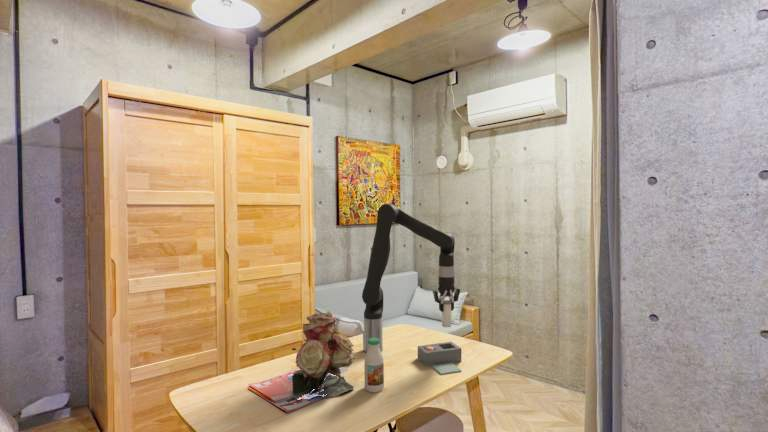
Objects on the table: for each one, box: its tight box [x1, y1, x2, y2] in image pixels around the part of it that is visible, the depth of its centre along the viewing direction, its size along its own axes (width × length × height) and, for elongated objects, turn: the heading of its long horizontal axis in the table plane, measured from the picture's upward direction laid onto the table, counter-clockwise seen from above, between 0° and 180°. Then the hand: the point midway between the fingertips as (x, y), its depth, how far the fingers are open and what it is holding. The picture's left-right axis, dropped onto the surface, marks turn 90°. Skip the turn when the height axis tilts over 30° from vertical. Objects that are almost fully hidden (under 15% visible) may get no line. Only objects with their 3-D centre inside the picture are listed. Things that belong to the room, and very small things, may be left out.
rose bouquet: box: [291, 310, 356, 399], centre depth 163 cm, size 26×29×30 cm
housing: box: [417, 341, 462, 367], centre depth 190 cm, size 18×10×6 cm, turn 109°
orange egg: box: [425, 346, 434, 351], centre depth 188 cm, size 4×4×6 cm
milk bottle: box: [364, 338, 385, 393], centre depth 160 cm, size 8×8×20 cm
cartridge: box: [441, 299, 452, 328], centre depth 191 cm, size 5×5×12 cm
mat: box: [431, 362, 462, 376], centre depth 179 cm, size 10×9×1 cm
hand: (446, 310), depth 191 cm, fingers closed on cartridge, 4 cm apart
